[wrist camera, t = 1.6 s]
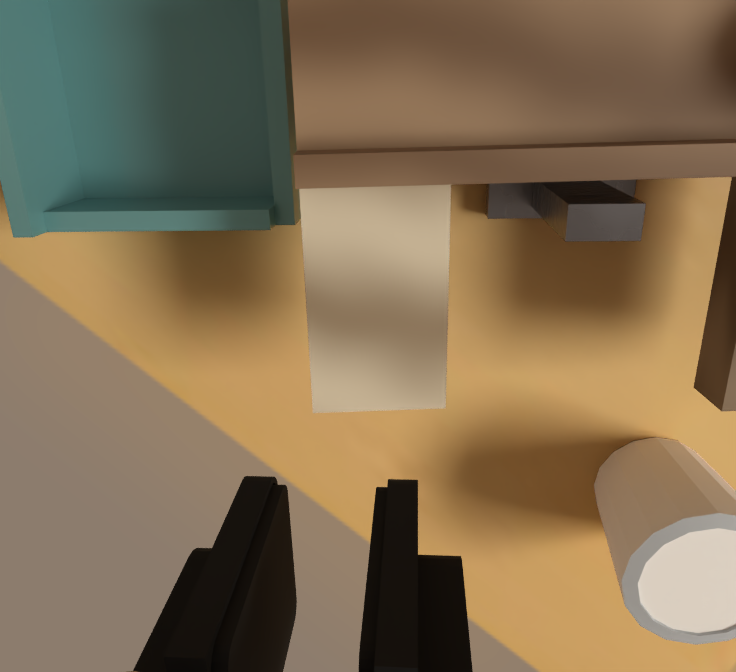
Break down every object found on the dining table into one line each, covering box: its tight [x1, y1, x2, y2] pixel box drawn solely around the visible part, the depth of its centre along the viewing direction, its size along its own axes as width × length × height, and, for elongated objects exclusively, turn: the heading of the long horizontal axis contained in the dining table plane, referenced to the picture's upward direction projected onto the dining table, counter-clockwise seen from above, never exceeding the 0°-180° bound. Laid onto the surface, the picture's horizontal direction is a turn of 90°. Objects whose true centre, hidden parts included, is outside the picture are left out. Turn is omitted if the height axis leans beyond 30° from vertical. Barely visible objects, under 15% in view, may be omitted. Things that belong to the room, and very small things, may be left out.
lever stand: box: [485, 179, 646, 241], centre depth 22 cm, size 12×6×8 cm, turn 1°
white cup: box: [594, 437, 736, 644], centre depth 29 cm, size 7×7×7 cm
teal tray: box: [0, 0, 301, 237], centre depth 24 cm, size 12×11×5 cm
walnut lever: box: [288, 0, 736, 413], centre depth 20 cm, size 16×20×4 cm
